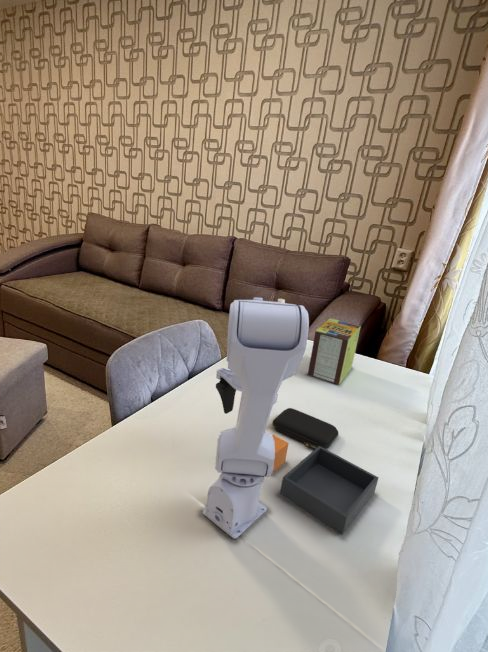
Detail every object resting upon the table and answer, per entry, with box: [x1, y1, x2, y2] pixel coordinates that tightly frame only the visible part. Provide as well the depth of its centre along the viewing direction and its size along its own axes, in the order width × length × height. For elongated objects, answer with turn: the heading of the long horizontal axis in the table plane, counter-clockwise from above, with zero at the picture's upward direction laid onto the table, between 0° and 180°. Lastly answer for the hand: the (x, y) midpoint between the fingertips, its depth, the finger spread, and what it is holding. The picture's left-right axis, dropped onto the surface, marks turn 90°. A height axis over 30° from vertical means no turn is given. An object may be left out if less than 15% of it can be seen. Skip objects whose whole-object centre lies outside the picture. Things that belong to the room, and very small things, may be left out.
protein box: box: [307, 318, 362, 386], centre depth 127 cm, size 10×15×16 cm
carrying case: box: [271, 407, 340, 450], centre depth 96 cm, size 11×3×15 cm
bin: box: [279, 446, 379, 535], centre depth 78 cm, size 14×13×4 cm
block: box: [272, 434, 289, 474], centre depth 85 cm, size 5×4×6 cm
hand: (241, 419), depth 84 cm, fingers open, 7 cm apart
